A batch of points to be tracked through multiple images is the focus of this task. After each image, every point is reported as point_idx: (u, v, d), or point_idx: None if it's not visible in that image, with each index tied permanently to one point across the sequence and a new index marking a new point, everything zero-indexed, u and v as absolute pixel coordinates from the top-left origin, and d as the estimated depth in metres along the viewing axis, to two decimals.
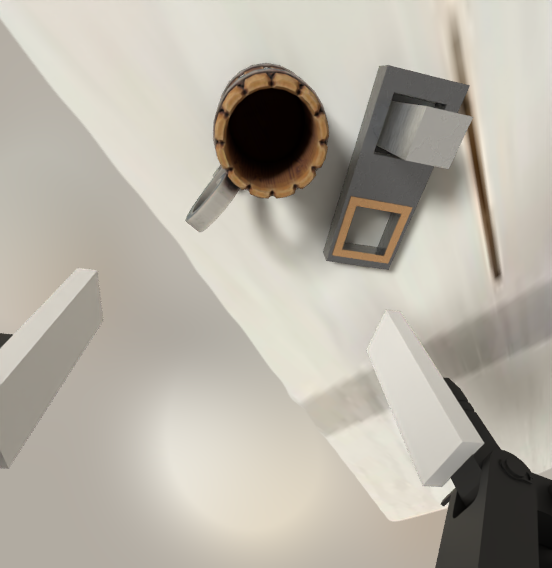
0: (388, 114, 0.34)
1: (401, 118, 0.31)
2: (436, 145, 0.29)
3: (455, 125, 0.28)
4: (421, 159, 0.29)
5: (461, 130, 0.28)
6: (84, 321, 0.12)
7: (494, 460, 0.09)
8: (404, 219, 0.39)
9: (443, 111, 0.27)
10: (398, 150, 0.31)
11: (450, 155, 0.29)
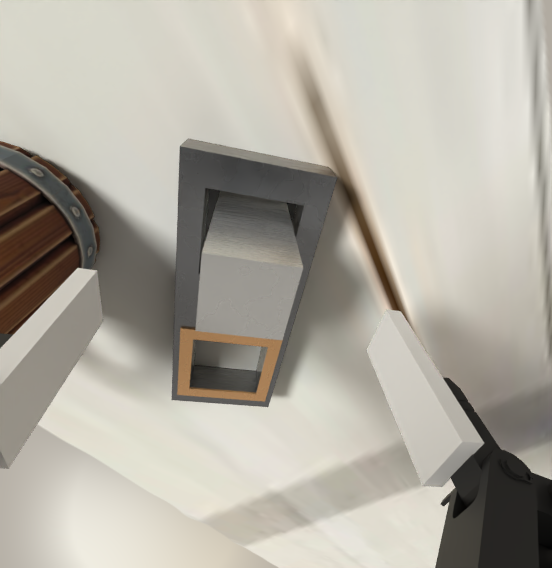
0: None
1: None
2: (246, 309, 0.15)
3: (272, 281, 0.14)
4: (224, 329, 0.16)
5: (286, 288, 0.15)
6: (84, 321, 0.12)
7: (494, 460, 0.09)
8: (274, 353, 0.26)
9: (239, 260, 0.14)
10: None
11: (278, 322, 0.16)
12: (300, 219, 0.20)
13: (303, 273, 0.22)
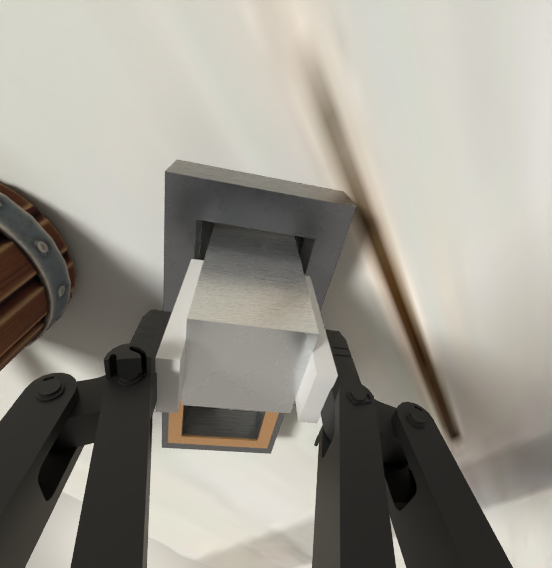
0: None
1: None
2: (245, 381, 0.12)
3: (279, 349, 0.11)
4: (218, 402, 0.13)
5: (296, 357, 0.11)
6: None
7: (342, 394, 0.10)
8: None
9: (237, 326, 0.10)
10: None
11: (286, 394, 0.13)
12: (310, 254, 0.17)
13: None
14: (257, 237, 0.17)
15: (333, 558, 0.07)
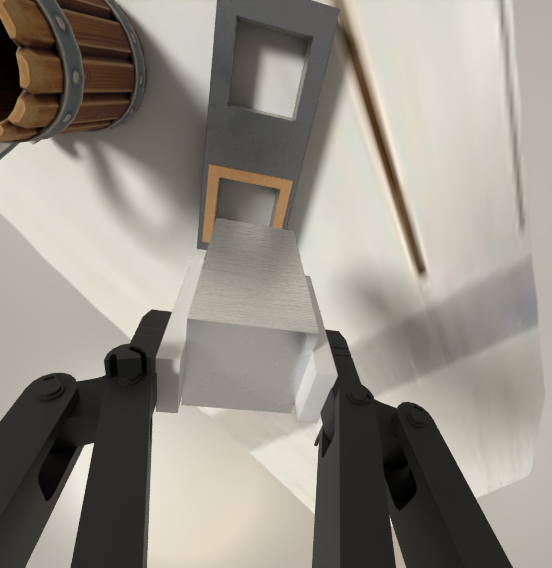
0: None
1: None
2: (245, 381, 0.12)
3: (279, 349, 0.11)
4: (218, 402, 0.13)
5: (297, 356, 0.11)
6: None
7: (342, 394, 0.10)
8: (285, 196, 0.31)
9: (237, 326, 0.10)
10: None
11: (286, 394, 0.12)
12: (310, 52, 0.25)
13: (311, 108, 0.27)
14: (257, 237, 0.17)
15: (333, 557, 0.07)
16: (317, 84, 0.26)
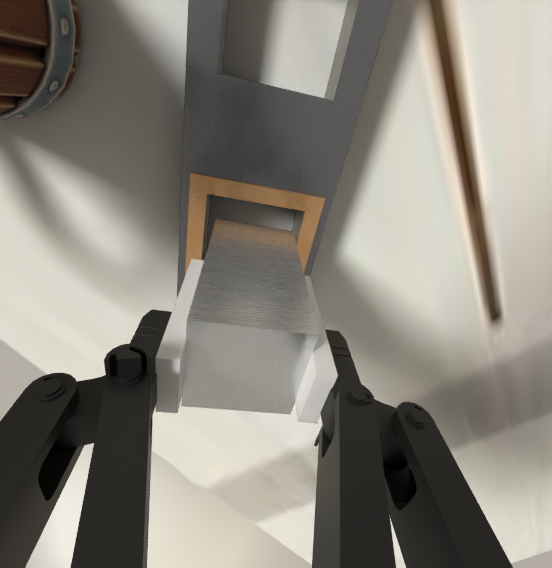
0: None
1: None
2: (245, 382, 0.12)
3: (278, 350, 0.11)
4: (218, 403, 0.13)
5: (296, 358, 0.11)
6: None
7: (342, 394, 0.10)
8: (312, 221, 0.20)
9: (236, 328, 0.10)
10: None
11: (286, 395, 0.13)
12: None
13: (362, 78, 0.16)
14: (257, 238, 0.17)
15: (333, 558, 0.07)
16: (375, 33, 0.15)
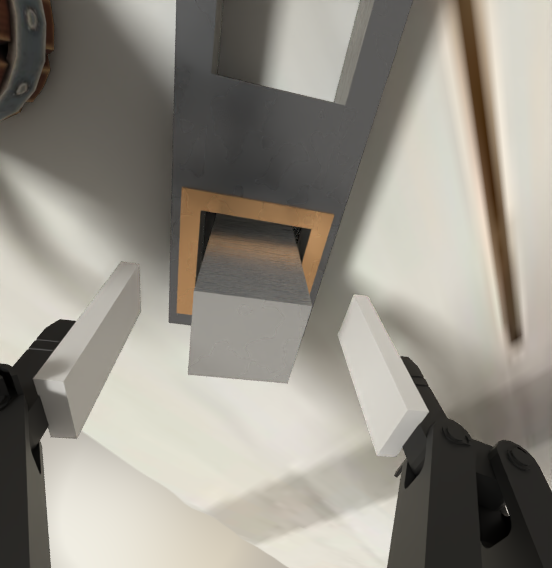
0: None
1: None
2: (246, 351, 0.13)
3: (276, 320, 0.12)
4: (221, 372, 0.14)
5: (292, 328, 0.13)
6: (128, 310, 0.13)
7: (437, 429, 0.10)
8: (320, 240, 0.18)
9: (238, 298, 0.12)
10: None
11: (283, 364, 0.14)
12: None
13: (379, 79, 0.14)
14: (256, 225, 0.18)
15: None
16: (395, 27, 0.13)
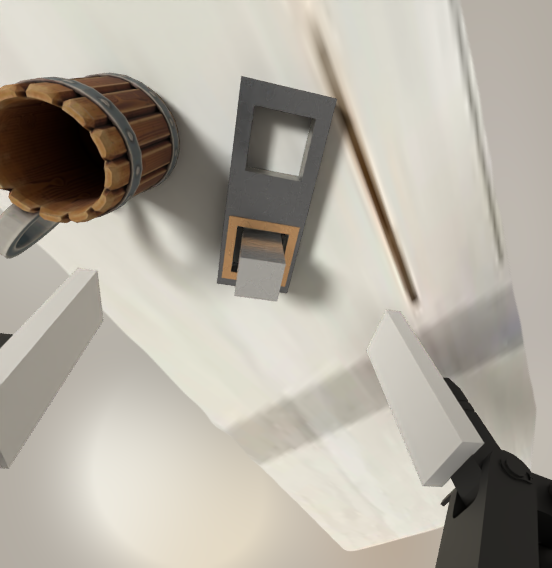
0: None
1: (240, 251, 0.34)
2: (259, 284, 0.32)
3: (271, 270, 0.31)
4: (248, 295, 0.32)
5: (278, 274, 0.31)
6: (84, 321, 0.12)
7: (494, 460, 0.09)
8: (293, 240, 0.36)
9: (257, 260, 0.30)
10: (236, 280, 0.34)
11: (275, 291, 0.32)
12: (313, 129, 0.31)
13: (314, 171, 0.33)
14: (263, 232, 0.37)
15: None
16: (319, 153, 0.32)
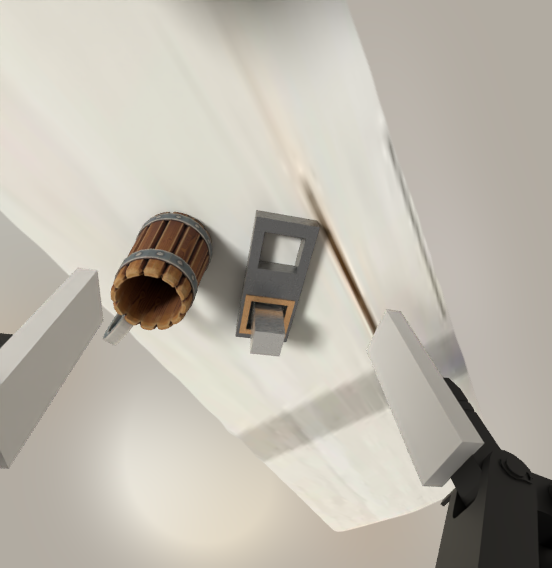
0: (253, 305, 0.52)
1: (253, 320, 0.49)
2: (267, 346, 0.47)
3: (275, 338, 0.46)
4: (259, 352, 0.47)
5: (280, 340, 0.46)
6: (84, 321, 0.12)
7: (494, 460, 0.09)
8: (290, 309, 0.51)
9: (266, 333, 0.45)
10: None
11: (277, 350, 0.47)
12: (304, 244, 0.45)
13: (305, 268, 0.47)
14: (269, 303, 0.51)
15: None
16: (308, 257, 0.46)
